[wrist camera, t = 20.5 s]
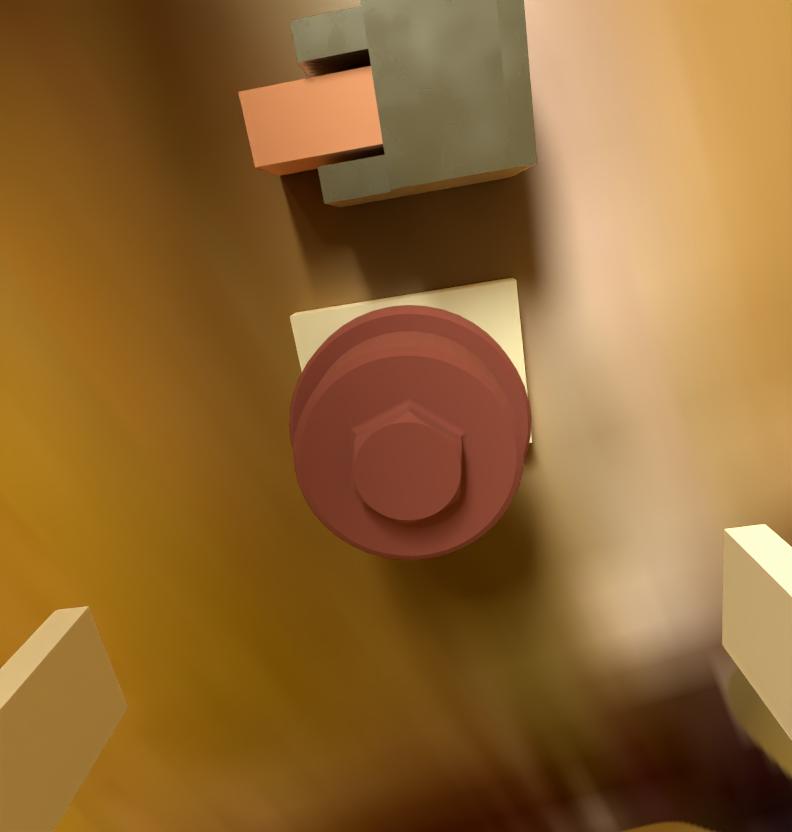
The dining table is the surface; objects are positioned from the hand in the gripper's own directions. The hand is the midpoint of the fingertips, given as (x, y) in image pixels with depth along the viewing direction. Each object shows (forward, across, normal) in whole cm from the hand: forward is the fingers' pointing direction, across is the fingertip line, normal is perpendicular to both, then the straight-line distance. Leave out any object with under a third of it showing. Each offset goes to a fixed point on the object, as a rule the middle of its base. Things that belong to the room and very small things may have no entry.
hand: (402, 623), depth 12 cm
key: (+22, -1, +13) cm, 25 cm away
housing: (+22, +2, +13) cm, 25 cm away
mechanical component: (+21, 0, 0) cm, 21 cm away
